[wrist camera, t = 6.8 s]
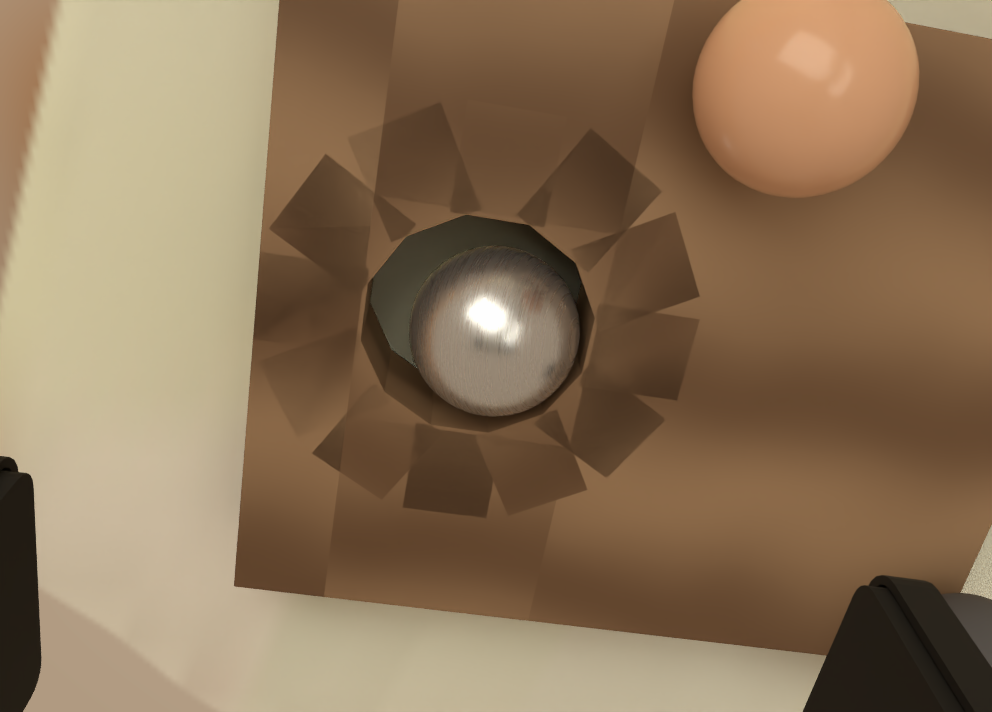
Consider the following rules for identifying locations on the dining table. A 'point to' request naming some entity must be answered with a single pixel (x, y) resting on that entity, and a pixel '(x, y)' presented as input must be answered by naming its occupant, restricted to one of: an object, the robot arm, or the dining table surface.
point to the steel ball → (494, 331)
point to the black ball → (974, 619)
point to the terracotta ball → (805, 92)
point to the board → (615, 333)
